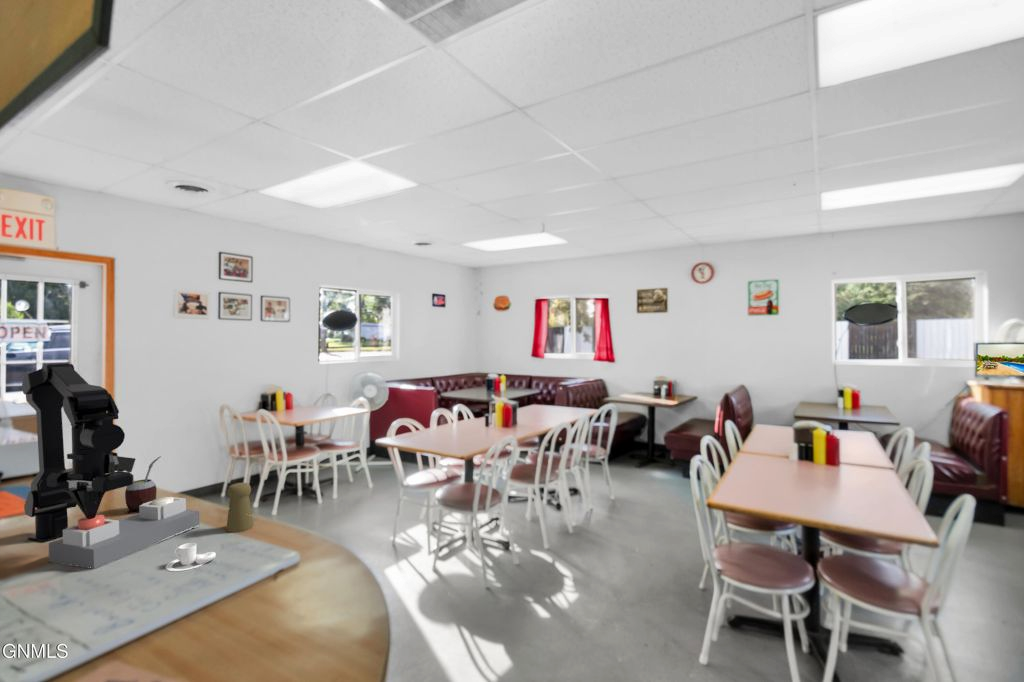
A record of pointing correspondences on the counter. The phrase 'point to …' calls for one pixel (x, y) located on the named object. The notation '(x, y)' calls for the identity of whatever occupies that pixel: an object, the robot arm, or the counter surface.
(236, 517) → the cork
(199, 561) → the teacup and saucer
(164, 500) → the cream plunger
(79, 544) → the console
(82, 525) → the red plunger
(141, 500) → the mate gourd
